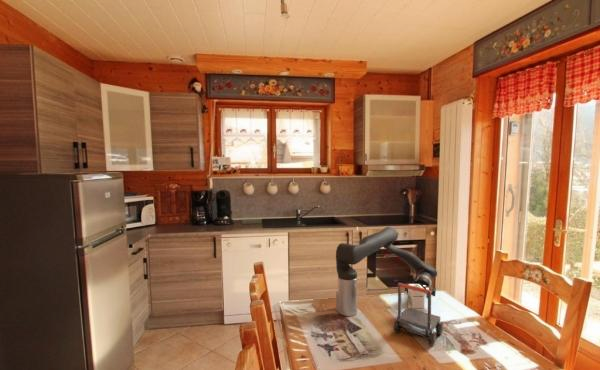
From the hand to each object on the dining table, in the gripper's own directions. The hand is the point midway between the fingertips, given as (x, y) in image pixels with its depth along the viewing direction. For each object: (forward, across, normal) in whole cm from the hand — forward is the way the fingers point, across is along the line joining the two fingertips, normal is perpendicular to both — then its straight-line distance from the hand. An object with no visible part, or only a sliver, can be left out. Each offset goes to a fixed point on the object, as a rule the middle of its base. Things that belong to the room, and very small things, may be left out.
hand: (417, 294), depth 144 cm
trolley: (+20, +4, +9) cm, 22 cm away
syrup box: (+5, 0, +9) cm, 10 cm away
